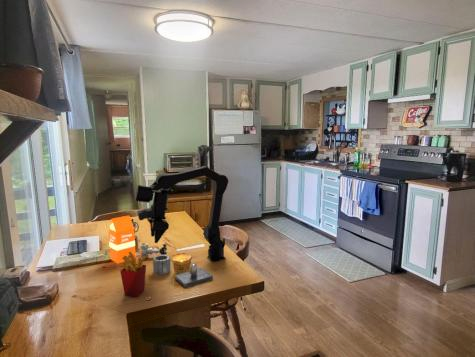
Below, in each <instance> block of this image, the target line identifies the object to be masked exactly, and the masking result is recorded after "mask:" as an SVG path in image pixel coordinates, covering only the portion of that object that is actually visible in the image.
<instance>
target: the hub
mask: <svg viewBox="0 0 475 357" xmlns="http://www.w3.org/2000/svg"><path fill="white" fill-rule="evenodd" d="M152 267H153V269H152V270H153V272H152V273H153V274H154V275H156V274H157V275H156V276H165V275H168V274H169V273H171V256H170V255H169V254H166V255H161V254H158V255H156V256H154V257H153V258H152ZM167 273H168V274H167ZM164 274H165V275H164Z"/></svg>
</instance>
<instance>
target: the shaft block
mask: <svg viewBox="0 0 475 357" xmlns="http://www.w3.org/2000/svg"><path fill="white" fill-rule="evenodd" d="M174 276H175V280H176V281H177V282H179V284H180V285H182V287H184V288H188V287H192V286H195V285H198V284H202V283H205V282H209V281H212V280H214V279H213V278H214V277H213V274H211V273H210V272H208V271H207V270H206V269H205V268H203V267H201V268H198V264H197V263H191V264H190V265H189V271H186V272H181V273H178V274H175V275H174Z"/></svg>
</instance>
